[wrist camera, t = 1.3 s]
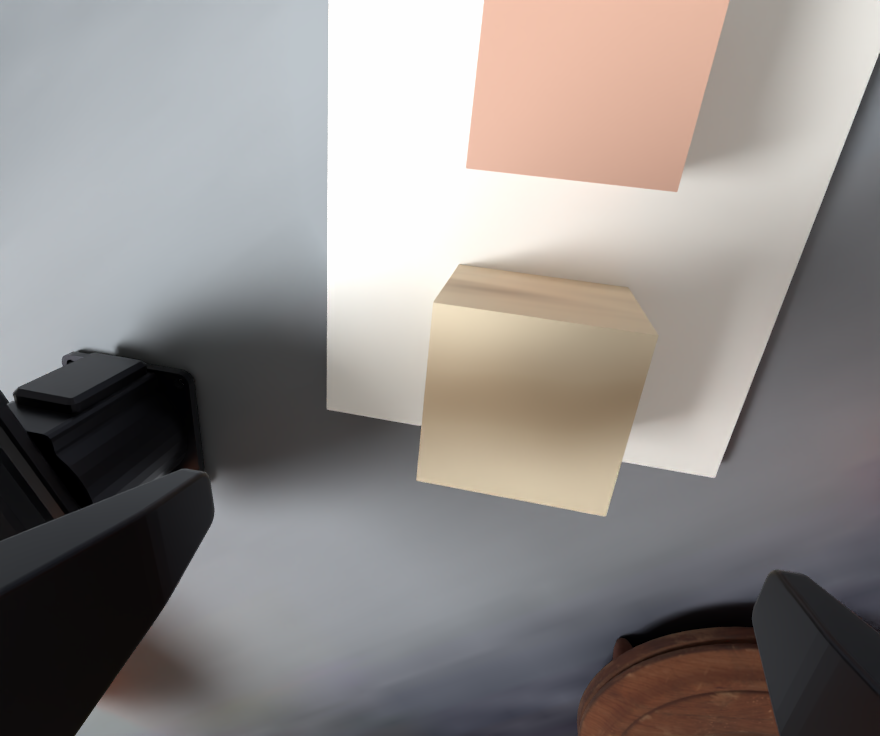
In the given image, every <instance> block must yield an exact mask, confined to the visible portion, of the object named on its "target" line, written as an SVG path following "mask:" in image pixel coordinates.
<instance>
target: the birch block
mask: <svg viewBox="0 0 880 736" xmlns="http://www.w3.org/2000/svg"><path fill="white" fill-rule="evenodd" d="M658 336H659V335H658V334H657V332H656V330H655V329H654V327H653V326H652V324H651V323H650V321H649V319H648V318H647V316H646V315H645V313H644V311H643V310H642V308H641V307H640V305H639V303H638V302H637V300H636V299H635V297H634V295H633V294H632V292H631V291H630V289H629V288H628V287H622V286H615V285H607V284H600V283H593V282H585V281H578V280H571V279H563V278H556V277H549V276H541V275H534V274H527V273H519V272H512V271H504V270H497V269H490V268H482V267H475V266H468V265H460V264H459V265H458V266H457V268H456V269H455V271H454V272H453V274H452V275H451V277H450V278H449V280H448V281H447V283H446V284H445V285H444V287H443V288H442V290H441V291H440V293H439V294H438V296H437V297H436V299H435V300H434V302H433V308H432V319H431V329H430V340H429V351H428V361H427V372H426V383H425V393H424V404H423V415H422V425H421V436H420V447H419V457H418V468H417V479H416V481H421V482H426V483H431V484H436V485H442V486H447V487H452V488H457V489H463V490H468V491H473V492H478V493H484V494H489V495H494V496H500V497H505V498H510V499H515V500H521V501H526V502H531V503H536V504H542V505H547V506H552V507H557V508H563V509H568V510H573V511H578V512H584V513H589V514H594V515H600V516H605V517H606V514H607V511H608V507H609V504H610V501H611V497H612V494H613V490H614V487H615V483H616V480H617V476H618V473H619V470H620V466H621V463H622V459H623V456H624V452H625V449H626V446H627V442H628V439H629V435H630V432H631V428H632V425H633V422H634V418H635V415H636V411H637V408H638V404H639V401H640V397H641V394H642V391H643V387H644V384H645V380H646V377H647V373H648V370H649V367H650V363H651V360H652V356H653V353H654V349H655V346H656V343H657V339H658Z"/></svg>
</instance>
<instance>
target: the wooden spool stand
mask: <svg viewBox="0 0 880 736" xmlns="http://www.w3.org/2000/svg"><path fill="white" fill-rule="evenodd" d="M577 728H578V736H780V735H779V732H778V728H777V724H776V720H775V717H774V712H773V708H772V704H771V700H770V696H769V691H768V687H767V683H766V679H765V674H764V670H763V666H762V662H761V658H760V653H759V649H758V645H757V641H756V636H755V632H754V628H753V627H714V628H703V629H696V630H689V631H683V632H679V633H674V634H670V635H666V636H663V637H660V638H657V639H653V640H651V641H648V642H646V643H643V644H641V645H638V646H636V647H634V648H633V647H632V646H631V644H630V643H629V641H628V640H627V639H625V638H619V639H618V640H617V641H616V644H615V646H614V650H613V660H612V661H611V662H610V663H609V664H607V665H606V666H605V667H604V668H603V669H602V670H601V671H600V672H599V673H598V674H597V675H596V676H595V677H594V678H593V680H592V681H591V682H590V683H589V685H588V687H587V688H586V690H585V692H584V694H583V696H582V698H581V701H580V704H579V708H578V715H577Z"/></svg>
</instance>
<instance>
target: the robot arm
mask: <svg viewBox="0 0 880 736" xmlns="http://www.w3.org/2000/svg"><path fill="white" fill-rule="evenodd" d="M62 365H63V367H61V368H59V369H57V370H55V371H52V372H50V373H48V374H46V375H44V376H42V377H39V378H37V379H35V380H33V381H31V382H29V383H27V384H24V385H22V386H20V387H18V388H17V389H16V390H15V391H14V392H13V396H14V401H12V402H10V403H9V401H8V400H7V399H6V397H5V396H4V394H3V393H2V392H1V390H0V736H75V735H76V733H77V732H78V731H79V729H80V728H81V726H82V725H83V723H84V722H85V720H86V719H87V718H88V716H89V715H90V713H91V712H92V710H93V709H94V708H95V706H96V705H97V703H98V702H99V700H100V699H101V697H102V696H103V695H104V693H105V692H106V690H107V689H108V687H109V686H110V685H111V683H112V682H113V680H114V679H115V677H116V676H117V674H118V673H119V672H120V670H121V669H122V667H123V666H124V664H125V663H126V662H127V660H128V659H129V657H130V656H131V654H132V653H133V651H134V650H135V649H136V647H137V646H138V644H139V643H140V641H141V640H142V639H143V637H144V636H145V634H146V633H147V631H148V630H149V629H150V627H151V626H152V624H153V623H154V621H155V620H156V618H157V617H158V615H159V614H160V612H161V611H162V609H163V608H164V606H165V605H166V603H167V602H168V600H169V598H170V597H171V595H172V593H173V592H174V590H175V588H176V586H177V585H178V583H179V581H180V579H181V577H182V576H183V574H184V572H185V570H186V569H187V567H188V565H189V563H190V561H191V560H192V558H193V556H194V554H195V553H196V551H197V549H198V547H199V545H200V544H201V542H202V540H203V538H204V537H205V535H206V533H207V531H208V529H209V528H210V526H211V524H212V521H213V518H214V503H213V496H212V489H211V482H210V477H209V476H208V474H207V473H205V471H204V462H203V454H202V445H201V436H200V428H199V419H198V410H197V401H196V393H195V384H194V379H193V377H192V376H191V374H190V373H188V372H187V371H184V370H179V369H173V368H168V367H162V366H156V365H150V364H146V363H144V362H143V361H141V360H136V359H130V358H124V357H119V356H113V355H107V354H101V353H91V354H87V353H81V352H71V353H69V354H67V355H65V356H63V358H62ZM179 379H181V380H182V381H183V383H184V384H182V383H181V382H180V380H179ZM752 622H753V628H754V632H755V636H756V641H757V645H758V649H759V653H760V658H761V662H762V666H763V670H764V674H765V679H766V683H767V687H768V691H769V696H770V700H771V704H772V708H773V712H774V717H775V720H776V724H777V728H778V732H779V735H780V736H880V633H879V632H877V631H876V630H875V629H874V628H872V627H871V626H870V625H869V624H867V623H866V622H865V621H863V620H862V619H861V618H860V617H858V616H857V615H856V614H855V613H853V612H852V611H851V610H850V609H848V608H847V607H846V606H844V605H843V604H842V603H841V602H839V601H838V600H837V599H836V598H834V597H833V596H832V595H831V594H829V593H828V592H827V591H825V590H824V589H823V588H822V587H820V586H819V585H818V584H817V583H815V582H814V581H813V580H812V579H810V578H809V577H807V576H806V575H804V574H801V573H796V572H790V571H784V570H773V571H771V572H770V573H769V574H768V576H767V578H766V580H765V582H764V585H763V587H762V589H761V592H760V594H759V596H758V598H757V601H756V603H755V605H754V608H753V613H752Z"/></svg>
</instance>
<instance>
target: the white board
mask: <svg viewBox="0 0 880 736" xmlns="http://www.w3.org/2000/svg"><path fill="white" fill-rule="evenodd" d="M483 6H484V0H329V30H328V240H327V410H332V411H338V412H344V413H349V414H355V415H360V416H366V417H372V418H377V419H383V420H389V421H394V422H400V423H406V424H411V425H417V426H421V425H422V415H423V404H424V393H425V383H426V372H427V361H428V351H429V340H430V329H431V319H432V308H433V302H434V300H435V299H436V297H437V296H438V294H439V293H440V291H441V290H442V288H443V287H444V285H445V284H446V283H447V281H448V280H449V278H450V277H451V275H452V274H453V272H454V271H455V269H456V268H457V266H458V265H459V264H460V265H468V266H475V267H482V268H490V269H497V270H504V271H512V272H519V273H527V274H534V275H541V276H549V277H556V278H563V279H571V280H578V281H585V282H593V283H600V284H607V285H615V286H622V287H628V288H629V289H630V291H631V292H632V294H633V295H634V297H635V299H636V300H637V302H638V303H639V305H640V307H641V308H642V310H643V311H644V313H645V315H646V316H647V318H648V319H649V321H650V323H651V324H652V326H653V327H654V329H655V330H656V332H657V334H658V335H659V336H658V339H657V343H656V346H655V349H654V353H653V356H652V360H651V363H650V367H649V370H648V373H647V377H646V380H645V384H644V387H643V391H642V394H641V397H640V401H639V404H638V408H637V411H636V415H635V418H634V422H633V425H632V428H631V432H630V435H629V439H628V442H627V446H626V449H625V452H624V456H623V459H622V462H627V463H632V464H638V465H644V466H649V467H655V468H661V469H666V470H672V471H678V472H683V473H689V474H695V475H700V476H706V477H712V478H715V476H716V473H717V471H718V468H719V466H720V463H721V461H722V458H723V455H724V453H725V450H726V448H727V445H728V442H729V440H730V437H731V435H732V432H733V430H734V427H735V424H736V422H737V419H738V417H739V414H740V412H741V409H742V406H743V404H744V401H745V399H746V396H747V393H748V391H749V388H750V386H751V383H752V381H753V378H754V375H755V373H756V370H757V368H758V365H759V362H760V360H761V357H762V355H763V352H764V350H765V347H766V344H767V342H768V339H769V337H770V334H771V332H772V329H773V326H774V324H775V321H776V319H777V316H778V313H779V311H780V308H781V306H782V303H783V301H784V298H785V295H786V293H787V290H788V288H789V285H790V282H791V280H792V277H793V275H794V272H795V270H796V267H797V264H798V262H799V259H800V257H801V254H802V252H803V249H804V246H805V244H806V241H807V239H808V236H809V233H810V231H811V228H812V226H813V223H814V221H815V218H816V215H817V213H818V210H819V208H820V205H821V202H822V200H823V197H824V195H825V192H826V190H827V187H828V184H829V182H830V179H831V177H832V174H833V172H834V169H835V166H836V164H837V161H838V159H839V156H840V153H841V151H842V148H843V146H844V143H845V141H846V138H847V135H848V133H849V130H850V128H851V125H852V122H853V120H854V117H855V115H856V112H857V110H858V107H859V104H860V102H861V99H862V97H863V94H864V91H865V89H866V86H867V84H868V81H869V79H870V76H871V73H872V71H873V68H874V66H875V63H876V61H877V58H878V55H879V53H880V0H730V1H729V5H728V8H727V12H726V16H725V19H724V23H723V27H722V30H721V34H720V38H719V41H718V45H717V49H716V52H715V56H714V60H713V63H712V67H711V71H710V74H709V78H708V81H707V85H706V89H705V92H704V96H703V100H702V103H701V107H700V111H699V114H698V118H697V122H696V125H695V129H694V133H693V136H692V140H691V144H690V147H689V151H688V155H687V158H686V162H685V166H684V169H683V173H682V177H681V180H680V184H679V188H678V191H677V192H671V191H662V190H653V189H644V188H636V187H627V186H618V185H609V184H600V183H591V182H582V181H573V180H565V179H556V178H547V177H538V176H529V175H520V174H511V173H502V172H494V171H485V170H476V169H467V168H466V162H467V153H468V144H469V134H470V125H471V116H472V107H473V98H474V89H475V79H476V70H477V61H478V52H479V43H480V33H481V24H482V15H483Z"/></svg>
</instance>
